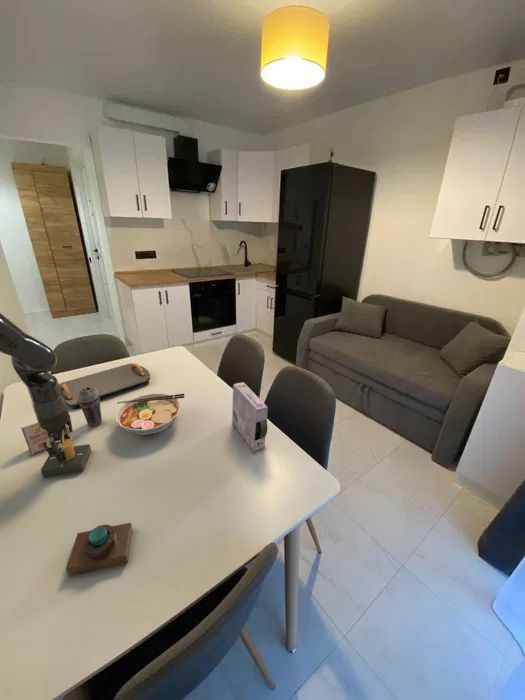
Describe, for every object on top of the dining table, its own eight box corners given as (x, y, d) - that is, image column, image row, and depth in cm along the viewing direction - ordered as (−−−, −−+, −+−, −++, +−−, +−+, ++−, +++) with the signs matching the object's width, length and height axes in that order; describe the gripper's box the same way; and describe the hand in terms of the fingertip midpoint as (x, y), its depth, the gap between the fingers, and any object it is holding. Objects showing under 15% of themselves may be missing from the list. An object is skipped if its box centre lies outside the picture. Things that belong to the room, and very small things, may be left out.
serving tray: (138, 365, 155) (136, 355, 153) (157, 382, 140) (155, 371, 138) (52, 391, 131) (48, 379, 128) (64, 414, 116) (60, 401, 113)
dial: (72, 460, 90) (68, 447, 88) (55, 463, 89) (50, 450, 87) (77, 449, 94) (73, 436, 92) (60, 452, 93) (56, 439, 91)
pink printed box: (29, 448, 98) (20, 425, 94) (53, 439, 102) (45, 416, 98) (31, 454, 96) (21, 430, 92) (55, 445, 100) (47, 422, 96)
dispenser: (69, 576, 64) (63, 562, 62) (80, 541, 71) (75, 527, 69) (127, 563, 67) (124, 549, 65) (132, 530, 74) (129, 516, 72)
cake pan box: (267, 449, 101) (269, 407, 94) (255, 454, 99) (256, 411, 92) (242, 418, 116) (242, 380, 109) (231, 422, 114) (230, 383, 107)
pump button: (88, 549, 65) (86, 543, 64) (92, 533, 68) (91, 527, 67) (106, 545, 66) (104, 539, 65) (109, 530, 69) (108, 524, 68)
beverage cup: (108, 416, 115) (98, 372, 107) (102, 428, 109) (91, 382, 100) (88, 418, 114) (76, 373, 106) (81, 430, 107) (68, 383, 99)
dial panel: (43, 477, 88) (40, 469, 86) (54, 456, 96) (52, 448, 94) (83, 471, 90) (81, 463, 89) (91, 450, 98) (89, 443, 97)
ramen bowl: (108, 451, 98) (103, 431, 95) (123, 411, 119) (120, 394, 115) (184, 442, 103) (182, 423, 100) (186, 405, 124) (184, 389, 120)
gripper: (55, 423, 79) (71, 469, 86) (73, 394, 92) (85, 437, 98) (24, 426, 77) (42, 473, 84) (46, 397, 90) (60, 440, 97)
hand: (65, 453), depth 91 cm, fingers open, 5 cm apart
